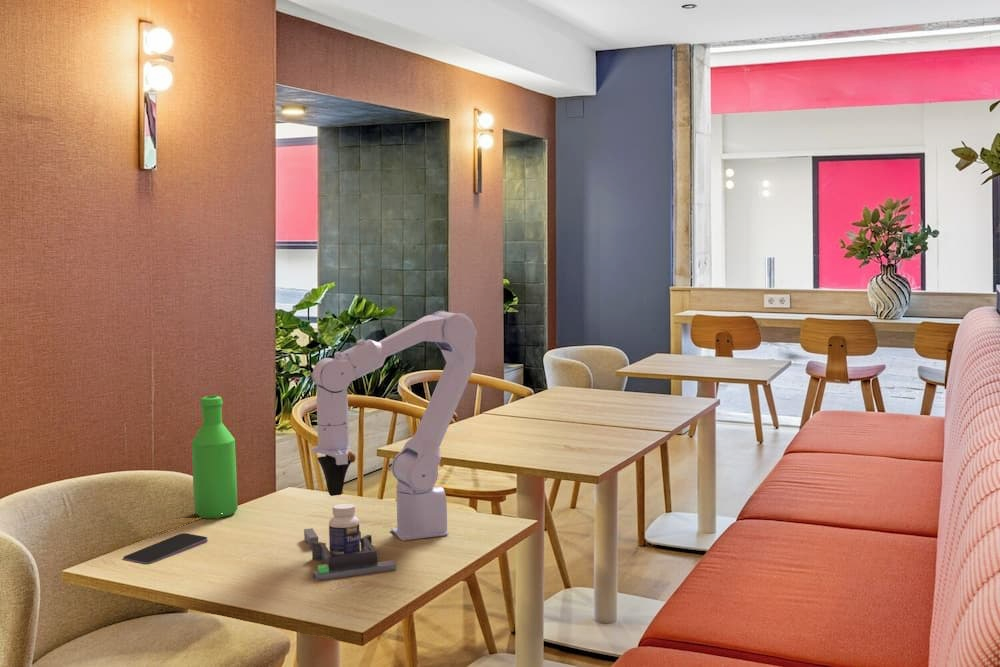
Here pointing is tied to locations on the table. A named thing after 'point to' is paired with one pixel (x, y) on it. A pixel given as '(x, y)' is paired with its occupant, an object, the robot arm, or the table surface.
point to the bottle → (214, 464)
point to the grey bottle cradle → (348, 561)
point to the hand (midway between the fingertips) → (335, 494)
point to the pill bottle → (344, 530)
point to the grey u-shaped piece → (314, 536)
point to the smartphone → (166, 548)
